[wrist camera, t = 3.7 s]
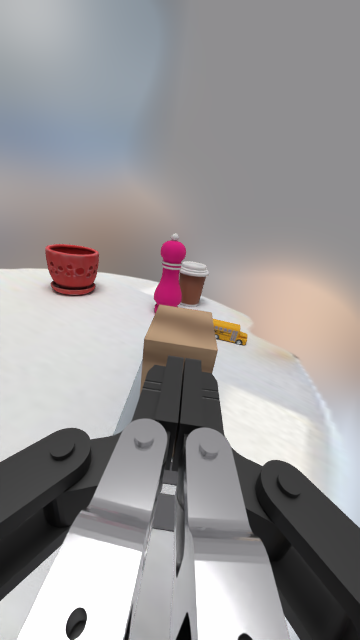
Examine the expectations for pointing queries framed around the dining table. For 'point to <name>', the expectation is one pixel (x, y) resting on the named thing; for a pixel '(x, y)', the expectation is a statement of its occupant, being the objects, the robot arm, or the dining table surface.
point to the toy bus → (229, 332)
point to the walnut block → (179, 338)
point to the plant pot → (72, 268)
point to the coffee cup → (192, 282)
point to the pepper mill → (170, 273)
